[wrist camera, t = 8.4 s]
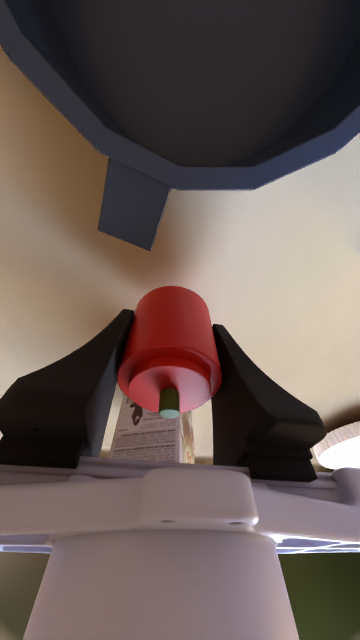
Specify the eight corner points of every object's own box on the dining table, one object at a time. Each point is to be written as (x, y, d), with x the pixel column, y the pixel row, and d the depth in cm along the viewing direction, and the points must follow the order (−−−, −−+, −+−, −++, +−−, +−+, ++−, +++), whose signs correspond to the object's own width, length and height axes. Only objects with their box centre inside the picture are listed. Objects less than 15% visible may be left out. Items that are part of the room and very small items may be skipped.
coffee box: (194, 417, 27) (208, 647, 14) (147, 422, 28) (121, 644, 15) (179, 375, 21) (182, 687, 9) (122, 383, 22) (46, 680, 9)
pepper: (218, 293, 13) (249, 386, 7) (198, 348, 16) (208, 443, 10) (138, 278, 12) (107, 368, 7) (132, 339, 15) (107, 435, 10)
